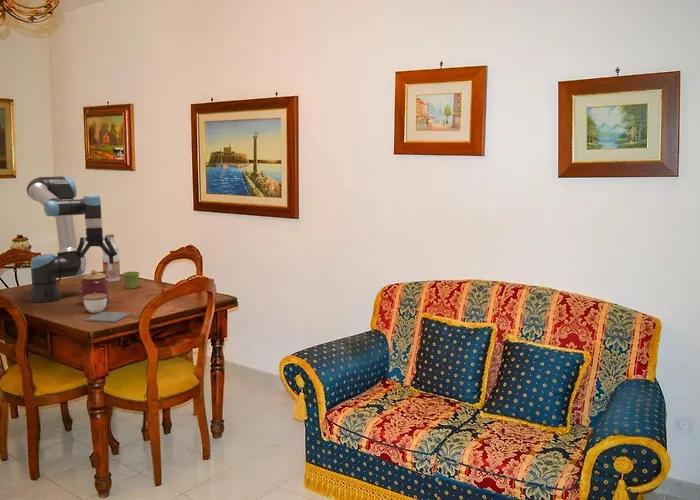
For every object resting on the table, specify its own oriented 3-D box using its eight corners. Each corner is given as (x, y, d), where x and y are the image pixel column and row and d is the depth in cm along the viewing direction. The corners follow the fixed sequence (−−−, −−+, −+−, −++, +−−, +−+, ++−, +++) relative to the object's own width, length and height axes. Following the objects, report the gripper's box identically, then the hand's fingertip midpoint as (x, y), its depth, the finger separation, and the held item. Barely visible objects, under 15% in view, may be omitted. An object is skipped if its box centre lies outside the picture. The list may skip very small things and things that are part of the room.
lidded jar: (100, 307, 318) (99, 289, 317) (111, 310, 311) (110, 292, 310) (79, 311, 310) (78, 292, 309) (91, 315, 303) (90, 295, 302)
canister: (76, 306, 321) (74, 271, 318) (90, 300, 333) (88, 267, 331) (100, 307, 319) (99, 272, 316) (114, 301, 331) (112, 268, 329)
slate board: (84, 321, 293) (84, 319, 293) (103, 313, 307) (103, 311, 307) (114, 322, 290) (114, 321, 290) (131, 314, 304) (131, 313, 304)
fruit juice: (116, 282, 379) (113, 235, 374) (100, 282, 380) (98, 235, 375) (123, 279, 388) (120, 233, 384) (108, 279, 389) (105, 233, 385)
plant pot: (135, 289, 359) (134, 274, 358) (119, 289, 360) (119, 274, 359) (143, 286, 368) (142, 271, 367) (128, 285, 369) (127, 271, 368)
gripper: (65, 228, 306) (68, 271, 308) (114, 227, 303) (117, 271, 305) (73, 226, 313) (76, 269, 315) (122, 226, 310) (125, 269, 313)
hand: (97, 270), depth 310 cm, fingers open, 13 cm apart
